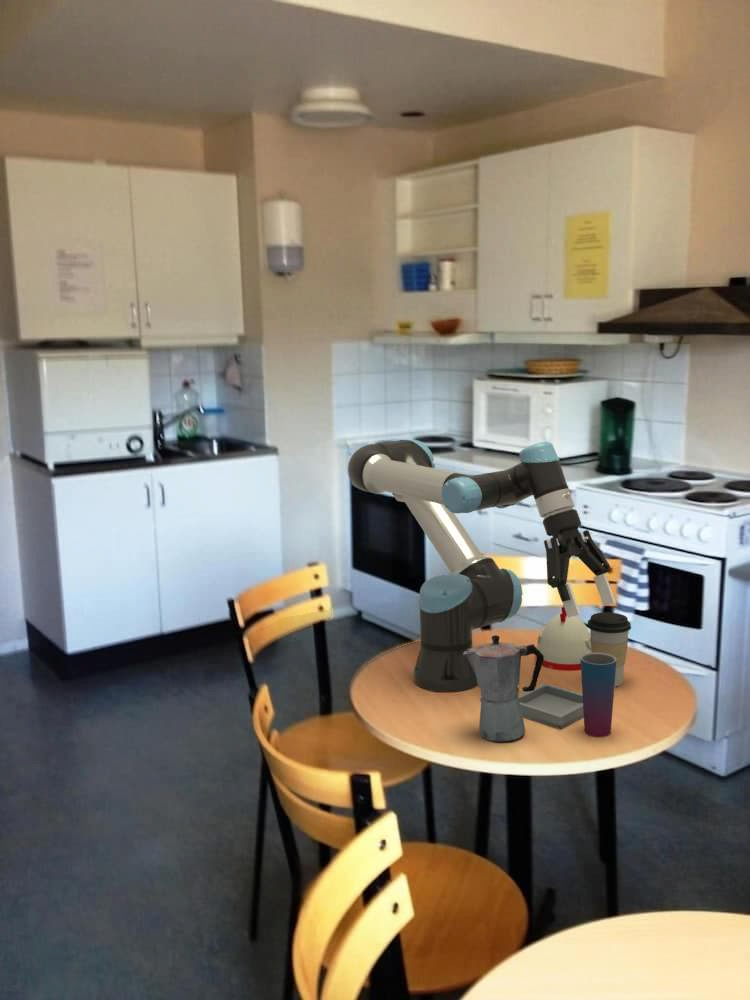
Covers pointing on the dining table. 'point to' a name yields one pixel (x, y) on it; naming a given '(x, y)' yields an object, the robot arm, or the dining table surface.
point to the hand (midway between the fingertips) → (592, 610)
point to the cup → (598, 692)
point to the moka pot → (501, 687)
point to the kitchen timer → (564, 642)
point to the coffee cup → (610, 638)
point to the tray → (552, 705)
